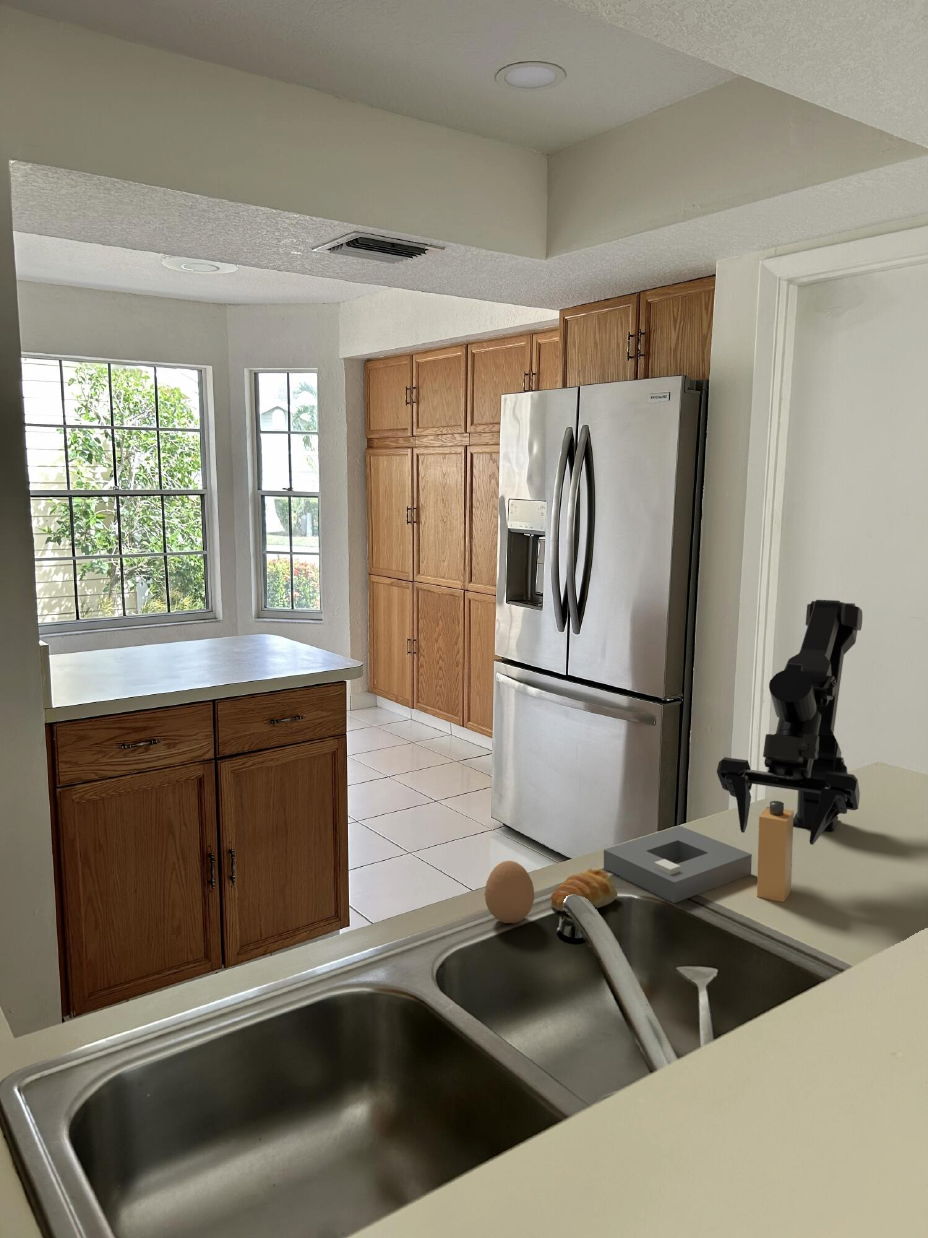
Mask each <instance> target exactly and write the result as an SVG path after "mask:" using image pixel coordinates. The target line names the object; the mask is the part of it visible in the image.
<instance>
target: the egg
mask: <svg viewBox="0 0 928 1238" xmlns="http://www.w3.org/2000/svg"><path fill="white" fill-rule="evenodd" d="M484 889H485V890H484V901H485V904H486V907H487V909H488V911H489V913H490V914H491V915H492V916H493V917H494V918H495V919H496V920H497V919H498V921H499V920H500V921H499V922H501V921H502V922H501V923H503V922H505V923H504V924H506V923H513V924H517V923H520V922H521V921H523V920H524V919H525V918H526V917H527V916H528V915H529V913H530V912H531V910H532V909H533V906H534V900H535V889H534V884H533V880H532V878H531V877H530V874H529V873H528V871H527V870H526V869H525V868H524V866H523V865H521V864H520V863H518V862H516V861H513V860H505V861H502V862H500V863H498V864H497V865H496V866H495V867H494V868H493V869H492V870H491V872H490V874H489V876H488V877H487V880H486V885H485V887H484Z"/></svg>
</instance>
